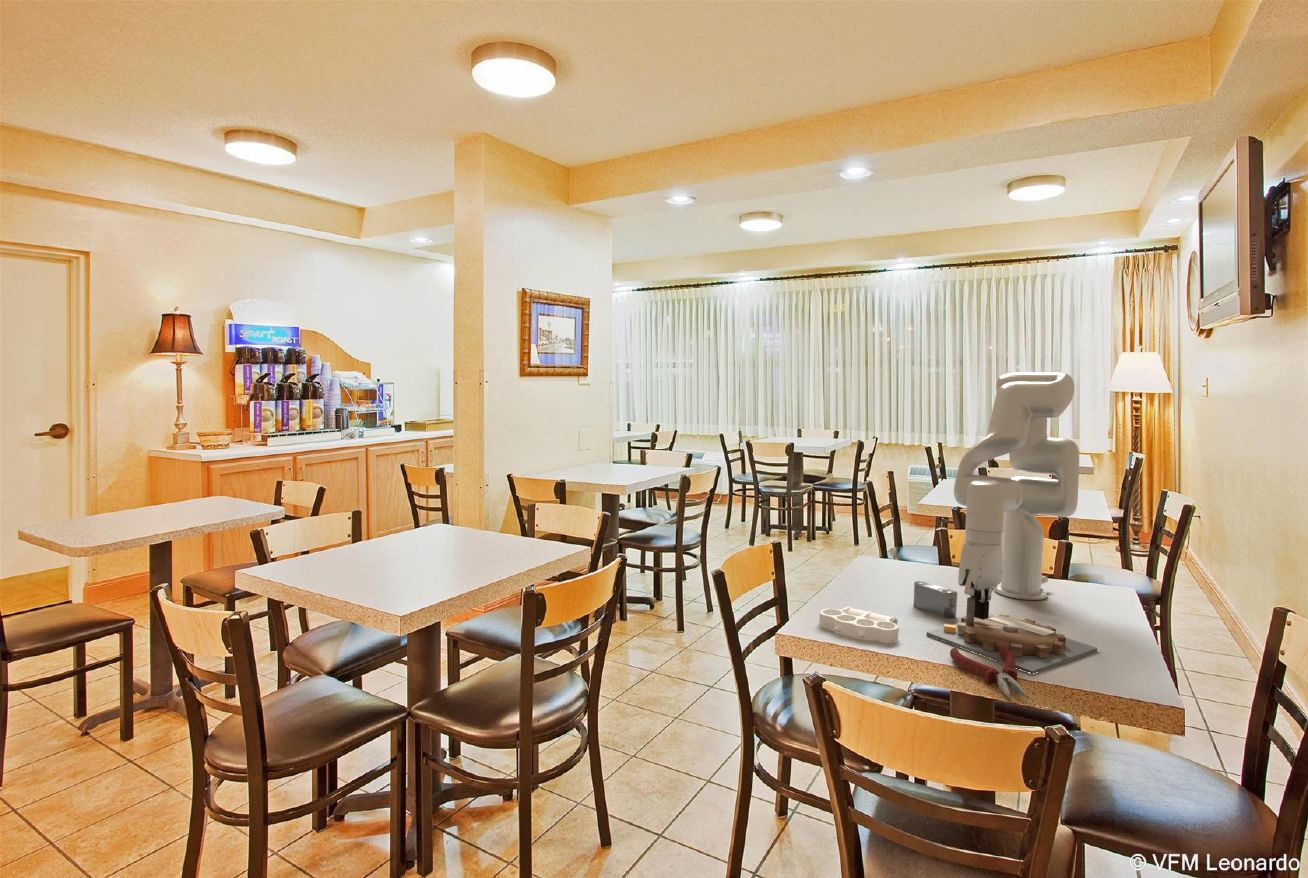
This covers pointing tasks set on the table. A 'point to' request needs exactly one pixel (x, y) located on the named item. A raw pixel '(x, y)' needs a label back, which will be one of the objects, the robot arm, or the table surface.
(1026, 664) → the index base plate
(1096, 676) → the table surface
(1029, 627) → the sprocket wheel
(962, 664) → the pliers
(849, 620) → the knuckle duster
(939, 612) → the chain link
